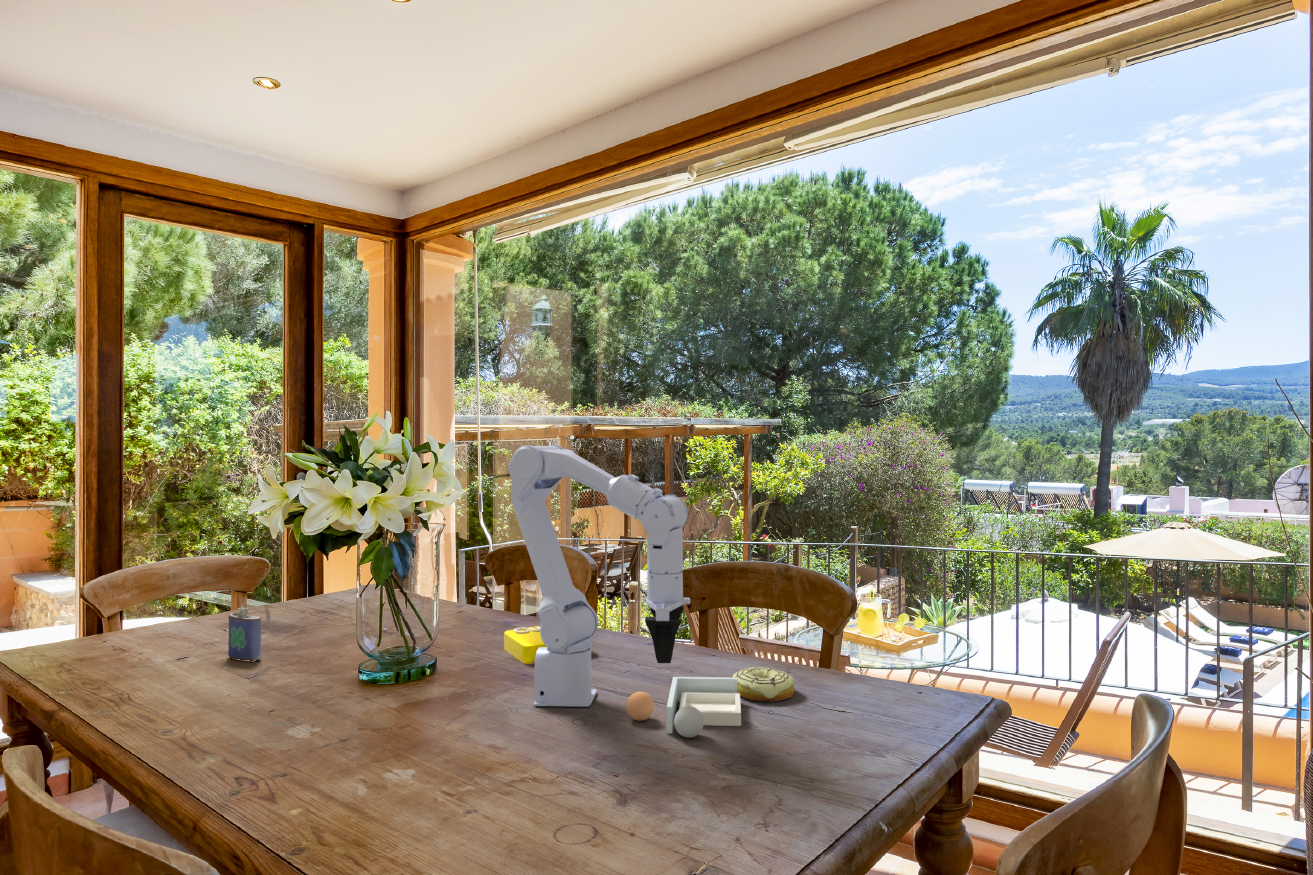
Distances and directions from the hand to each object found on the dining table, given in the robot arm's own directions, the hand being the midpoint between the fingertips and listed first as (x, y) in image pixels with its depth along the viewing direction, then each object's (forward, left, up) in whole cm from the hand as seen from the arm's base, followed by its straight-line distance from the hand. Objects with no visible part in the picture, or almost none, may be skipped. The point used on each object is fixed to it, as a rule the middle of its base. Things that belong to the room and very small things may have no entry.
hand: (665, 655), depth 125 cm
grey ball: (+4, -9, -10) cm, 14 cm away
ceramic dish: (+7, 0, -10) cm, 12 cm away
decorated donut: (+16, +11, -10) cm, 22 cm away
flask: (-90, +28, -10) cm, 95 cm away
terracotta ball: (-4, -3, -10) cm, 11 cm away
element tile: (-28, +36, -10) cm, 47 cm away
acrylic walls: (+6, -1, -9) cm, 11 cm away
